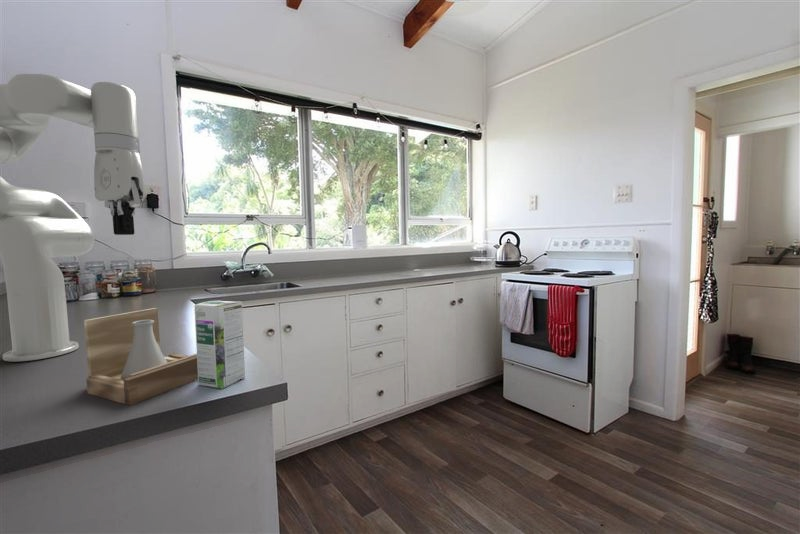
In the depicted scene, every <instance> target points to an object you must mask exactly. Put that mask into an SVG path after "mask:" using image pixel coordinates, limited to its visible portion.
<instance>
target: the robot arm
mask: <svg viewBox="0 0 800 534" xmlns="http://www.w3.org/2000/svg"><path fill="white" fill-rule="evenodd" d="M137 105H138V103H137V97H136V93H134V91H133V89H131V88H129V86H128V87H127V86H125V85H122V84H119V83H116V82H110V81H97V82H95V83H92V85H91V87H90V89H89V88H86V87H84V86H82V85H79V84H76V83H74V82H71V81H69V80H65V79H62V78H60V77H57V76H53V75H49V74H42V73H18V74H15V75H14V76H12V77H11V78H10V80H8V82H7V83H0V165H13V164H16V163H18V162H20V161H21V160H22V159H23V158H24V157H25V155H26V154H28V152H29V151H30V150H31V149H32V148H33V146H35V144H36V143H37V142H38V141H39V140H40V139H41V137H43V135H44V134H45V132H46V131H47V129H48V128H49V124H50V121H51V119H52V118H53V117H54V118H58V119H61V120H65V121H67V122H72V123H75V124H78V125H80V126H81V125H82V126H85V127H88V128H92V129H93V137H94V152H95V157H94V165H93V167H94V169H93V175H94V176H93V178H94V179H93V182H94V183H93V185H94V186H93V187H94V197H95V199H96V201H100V202H104V207H105V208H107V209H110V210H109V212H110V215H111V216H112V226H113V227H112V229H113V234H114V235H115V236H116V235H117V236H124V235H125V236H127V235H129V236H131V235H132V236H133V235H135V224H134V221H135V220H134V216H135V213H136V212H135V211H136V208H137V207H139V206H140V205H141V200H143V199H144V197H145V191H146V190H145V179H144V178H145V177H144V171H143V166H142V162H141V149H140V136H139V135H140V134H139V133H140V131H139V122H138V121H139V119H138V106H137ZM94 245H95V234H94V232H93V230H92V228H91V227H90V225H89V223H87V221H85V219H84V218H83V217H82V216H80V215H79V213H77V211H75V209H73V208H72V207H71V206H70V204H69V203H67V202H66V201H65V200H64V199H63V198H62V197H60V196H59V195H57V194H56V193H54V192H51V191H48V190H43V189H36V188H29V187H28V188H27V187H21V186H18V185H17V186H16V185H12V184H11V183H9V182H7V180H5V178H4V177H2V176H1V175H0V260H1V264H2V268H3V272H4V273H3V274H4V281H5V282H4V283H5V289H6V297H7V299H6V300H7V308H8V317H9V327H10V338H11V348H12V349H11V350H8V351H6V352H4V353H3V354H2V360H3V361H4V362H9V363H10V362H14V363H15V362H16V363H17V362H28V361H29V362H30V361H38V360H43V359H48V358H49V359H50V358H54V357H58V356H61V355H65V354H68V353H72V352H74V351H76V350H77V349H79V342H78V341H74V340H70V332H69V331H70V330H69V320H68V309H67V298H66V297H67V296H66V295H67V294H66V285H65V279H64V278H65V277H64V274H63V272H62V270H61V269H60V267H59V266H58V265H57V263H56V262H55V261H54V260H53V259H52V258H67V257H69V258H70V257H79V256H82V255H86V254H87V253H89V252H90V251H91V250H92V249H93V247H94Z"/></svg>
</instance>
